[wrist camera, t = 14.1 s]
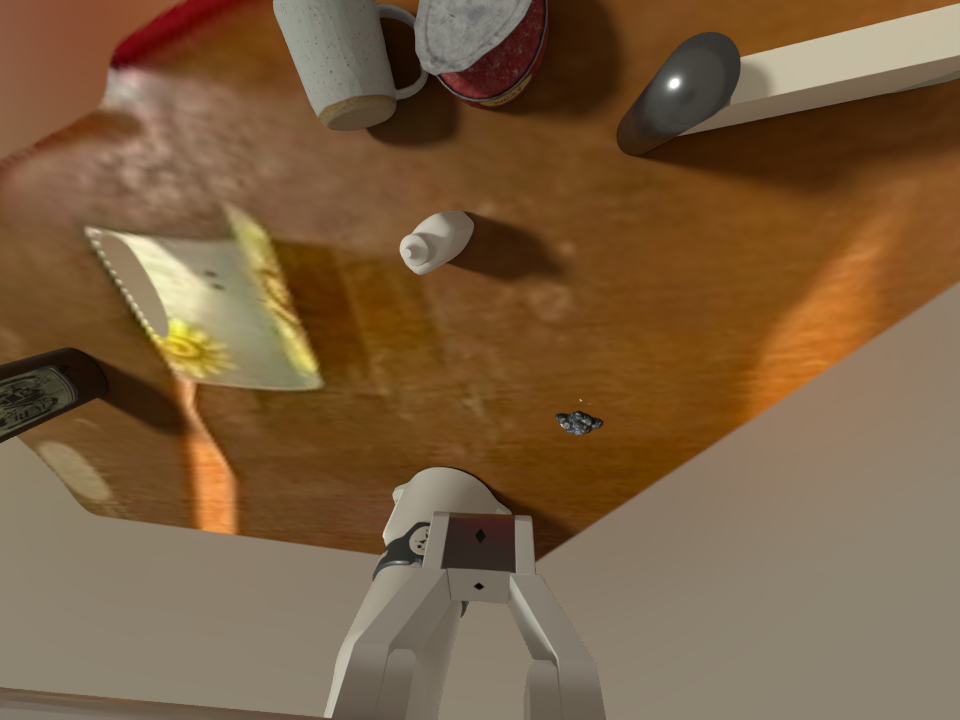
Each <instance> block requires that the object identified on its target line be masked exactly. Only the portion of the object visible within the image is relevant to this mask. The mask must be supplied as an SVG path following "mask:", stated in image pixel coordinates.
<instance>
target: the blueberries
mask: <svg viewBox="0 0 960 720" xmlns="http://www.w3.org/2000/svg"><path fill="white" fill-rule="evenodd" d="M580 401H582V400H581V399H580ZM590 404H591V403H590ZM555 419H556V421H558V422H559V423H560V425H561V426H562V427H564V428H565V429H566V430H568V432H569V433H574V434H576V435H582V434H585V433H587V432H588V431H589V428H592V429H597V428H598V427H599V426H600V424H601V420H600V419H598V418H593V417H591V416H590V415H588V414H585V413H583V412H581V411H576V412H574V413H571V414H569V415H568V414H564V413H559V414H556V417H555Z"/></svg>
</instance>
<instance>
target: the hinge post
mask: <svg viewBox="0 0 960 720" xmlns="http://www.w3.org/2000/svg"><path fill="white" fill-rule="evenodd" d="M740 70H741V60H740V55H739V51H738V49H737V47H736V45H735V44H734V42H733V41H732V40H731V39H730V38H728V37H727V36H725V35H723V34H721V33H716V32H706V33H701V34H698V35H695V36H693V37H691V38H689V39H687V40H686V41H685V42H683V43H682V44H681V45H679V46H678V47H677V48H676V49H675V50H674V51H673V53H672V54H671V55H670V56H669V58H668V59H667V60H666V62H665V63H664V64H663V66H662V67H661V68H660V70H659V71H658V72H657V73H656V75H655V76H654V77H653V79H652V80H651V81H650V83H649V84H648V85H647V87H646V88H645V89H644V91H643V92H642V93H641V94H640V96H639V97H638V98H637V100H636V101H635V102H634V104H633V105H632V106H631V108H630V109H629V110H628V112H627V113H626V114H625V115H624V117H623V118H622V120H621V121H620V123H619V126H618V129H617V143H618V146H619V147H620V149H621V150H622V151H623V152H624V153H626V154H628V155H631V156H638V155H642V154H644V153H646V152H648V151H650V150H652V149H654V148H656V147H657V146H659V145H661V144H663V143H665V142H667V141H669V140H670V139H672V138H674V137H676V136H678V135H680V134H681V133H683V132H685V131H687V130H689V129H691V128H693V127H694V126H696V125H698V124H700V123H702V122H704V121H705V120H707V119H709V118H711V117H712V116H713V115H715V114H716V113H717V112H718V111H720V110H721V109H722V108H723V106H724V105H725V104H726V103H727V102H728V100H729V99H730V97H731V96H732V94H733V92H734V90H735V88H736V86H737V83H738V80H739V76H740Z"/></svg>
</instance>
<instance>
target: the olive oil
mask: <svg viewBox="0 0 960 720" xmlns="http://www.w3.org/2000/svg"><path fill="white" fill-rule="evenodd" d="M106 390H107V382H106V379H105V377H104V375H103V373H102V372H101V370H100V369H99V367H98V366H97V365H96V364H95V363H94V362H93V361H92V360H91V359H90V358H89V357H87V356H86V355H85V354H83V353H82V352H80V351H78V350H75V349H72V348H62V349H58V350H54V351H50V352H47V353H43V354H40V355H36V356H32V357H29V358H25V359H22V360H18V361H14V362H10V363H6V364H3V365H0V443H2V442H4V441H6V440H8V439H10V438H12V437H14V436H16V435H18V434H21V433H23V432H25V431H27V430H29V429H31V428H33V427H35V426H37V425H39V424H42V423H44V422H46V421H48V420H50V419H52V418H54V417H56V416H58V415H61V414H63V413H65V412H67V411H69V410H71V409H74V408H76V407H78V406H80V405H82V404H85V403H87V402H89V401H91V400H93V399H96V398H98V397H100V396H102V395H104V394H105V393H106Z"/></svg>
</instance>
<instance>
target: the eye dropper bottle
mask: <svg viewBox="0 0 960 720" xmlns="http://www.w3.org/2000/svg"><path fill="white" fill-rule="evenodd" d="M473 229H474V223H473V221H472V220H471V219H470V218H469V217H468V216H467V215H466V214H465V213H464V212H463V211H461V210H458V211H449V212H441V213H437V214H434V215H432V216H430V217H429V218H427V219H426V220H424V221H423V222H422V223H421V224H420V225H418V227H417V228H416V229H415V230H414V231H413V233H412V234H410V235H408V236H406V237H404V239H403V240H402V241H401V244H400V253H401V256H402V258H403V259H404V262H405V263H406V265H407V266H408V267H409V268H410V269H411V270H413V271H414V272H415V273H417V274H419V275H422V274H425V273H428V272H430V271H432V270H434V269H436V268H437V267H439V266H441V265H443V264H445V263H446V262H448V261H450V260H452V259H453V258H455V257H456V256H457V255H458V254H459V253H460V252H461V251H462V250H463V249H464V248H465V246H466V245H467V243H468V242H469V240H470V238H471V235H472V233H473Z"/></svg>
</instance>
